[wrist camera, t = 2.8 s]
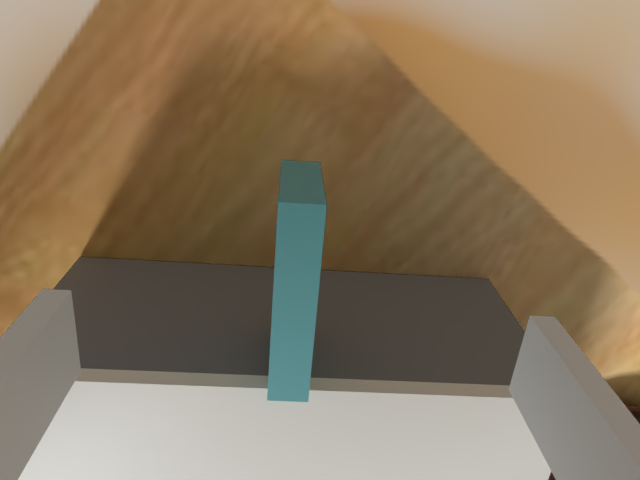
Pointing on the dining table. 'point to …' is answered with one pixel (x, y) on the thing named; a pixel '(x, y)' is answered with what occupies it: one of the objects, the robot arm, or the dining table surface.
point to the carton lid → (285, 403)
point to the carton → (256, 314)
